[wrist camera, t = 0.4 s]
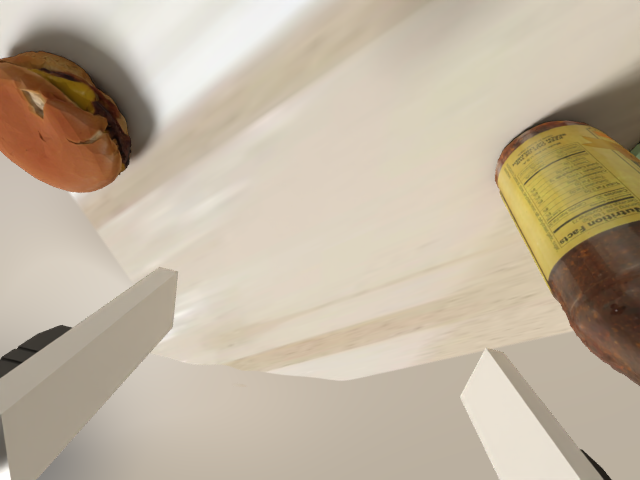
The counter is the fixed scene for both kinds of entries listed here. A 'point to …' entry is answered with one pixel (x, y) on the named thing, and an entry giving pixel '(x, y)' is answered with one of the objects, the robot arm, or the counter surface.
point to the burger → (60, 123)
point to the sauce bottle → (581, 230)
